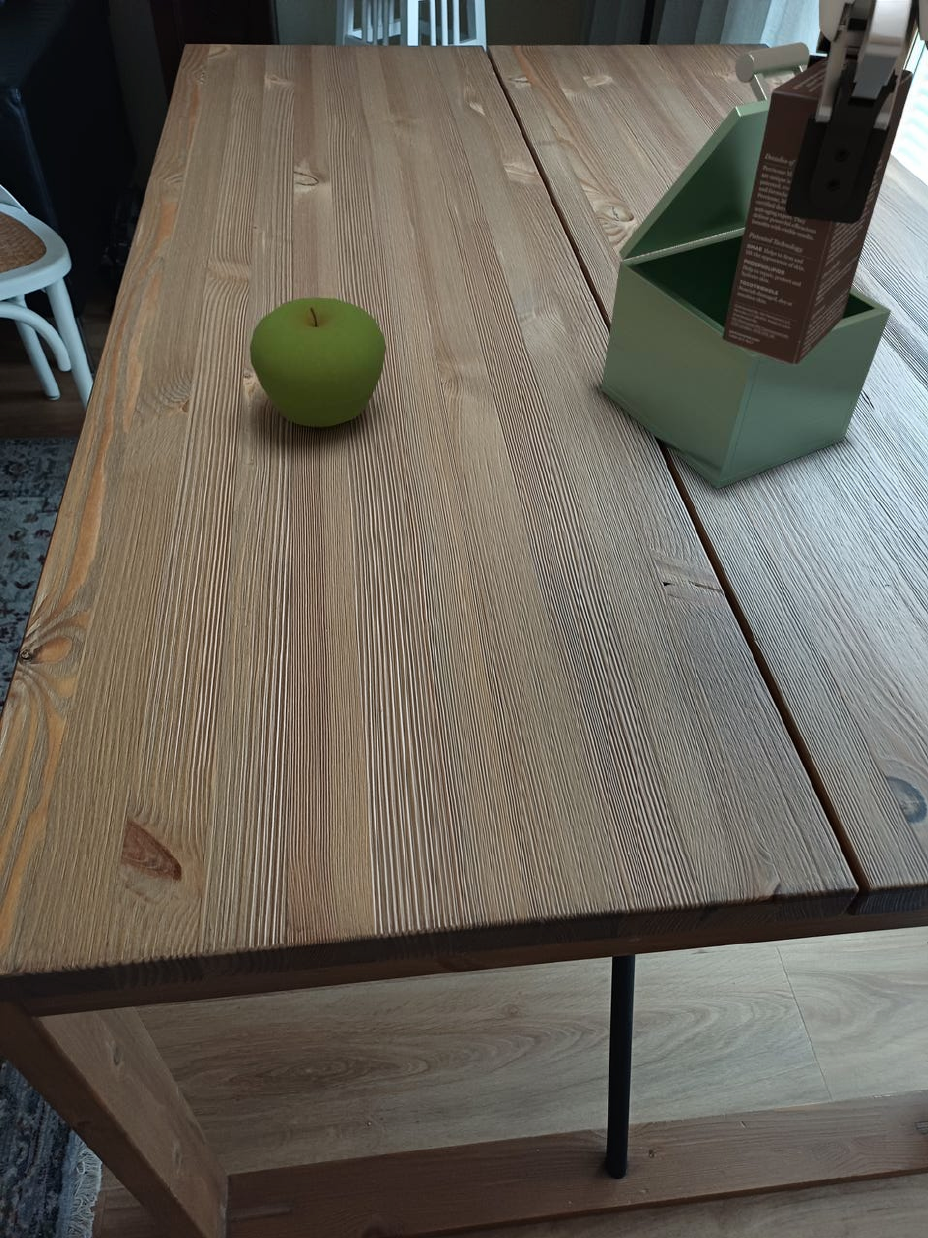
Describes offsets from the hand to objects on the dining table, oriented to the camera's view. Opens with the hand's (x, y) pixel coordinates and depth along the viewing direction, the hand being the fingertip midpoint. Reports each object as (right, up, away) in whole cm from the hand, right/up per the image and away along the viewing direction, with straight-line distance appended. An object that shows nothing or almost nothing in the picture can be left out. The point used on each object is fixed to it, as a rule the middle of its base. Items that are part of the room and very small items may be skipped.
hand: (821, 178), depth 45 cm
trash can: (+5, -3, +38) cm, 39 cm away
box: (0, -6, +6) cm, 8 cm away
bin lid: (+4, +12, +27) cm, 29 cm away
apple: (-28, -3, +37) cm, 47 cm away
